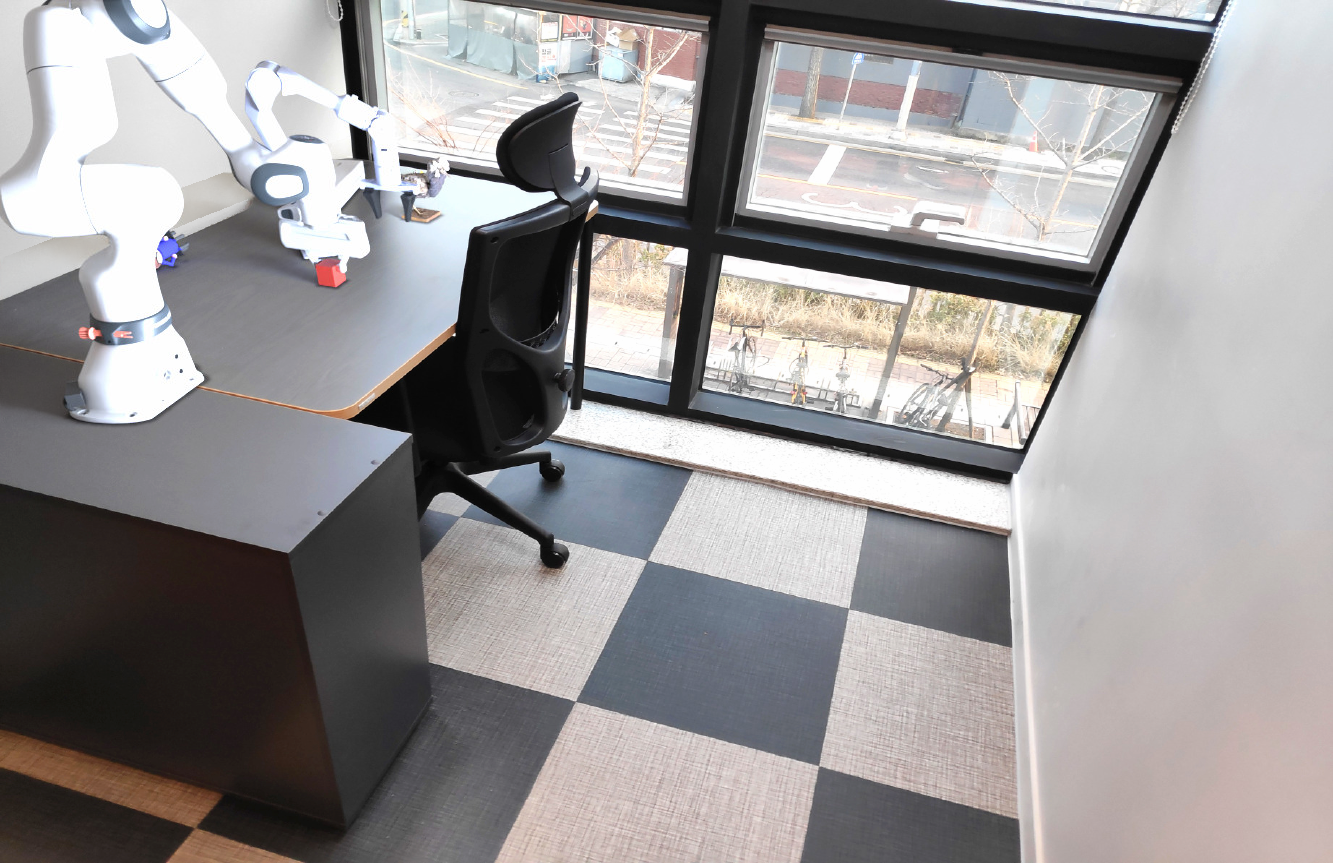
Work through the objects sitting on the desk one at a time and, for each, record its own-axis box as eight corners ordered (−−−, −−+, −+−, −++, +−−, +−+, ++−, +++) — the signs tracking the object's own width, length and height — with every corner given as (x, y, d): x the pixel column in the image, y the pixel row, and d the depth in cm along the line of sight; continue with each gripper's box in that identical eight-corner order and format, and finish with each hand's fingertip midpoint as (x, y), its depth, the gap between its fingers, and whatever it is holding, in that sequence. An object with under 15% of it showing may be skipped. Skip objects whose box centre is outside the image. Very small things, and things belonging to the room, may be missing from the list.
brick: (345, 279, 192) (342, 260, 190) (335, 287, 189) (332, 267, 186) (329, 277, 193) (326, 258, 190) (318, 284, 189) (315, 265, 187)
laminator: (328, 178, 253) (325, 158, 250) (369, 180, 254) (366, 160, 251) (291, 215, 225) (287, 193, 222) (337, 217, 226) (333, 195, 222)
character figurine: (198, 256, 199) (155, 280, 187) (170, 250, 200) (126, 274, 187) (191, 225, 195) (148, 248, 182) (163, 220, 195) (117, 242, 183)
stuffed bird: (455, 224, 227) (450, 161, 218) (382, 221, 226) (373, 157, 216) (461, 212, 235) (456, 151, 226) (390, 209, 234) (382, 147, 225)
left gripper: (370, 212, 182) (378, 270, 190) (286, 201, 185) (298, 258, 193) (355, 221, 177) (364, 281, 185) (269, 209, 180) (282, 268, 188)
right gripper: (421, 162, 201) (427, 216, 208) (364, 157, 202) (372, 211, 209) (410, 170, 195) (417, 226, 202) (352, 165, 196) (360, 220, 203)
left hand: (329, 269), depth 189 cm, fingers open, 5 cm apart
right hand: (393, 219), depth 205 cm, fingers open, 7 cm apart
